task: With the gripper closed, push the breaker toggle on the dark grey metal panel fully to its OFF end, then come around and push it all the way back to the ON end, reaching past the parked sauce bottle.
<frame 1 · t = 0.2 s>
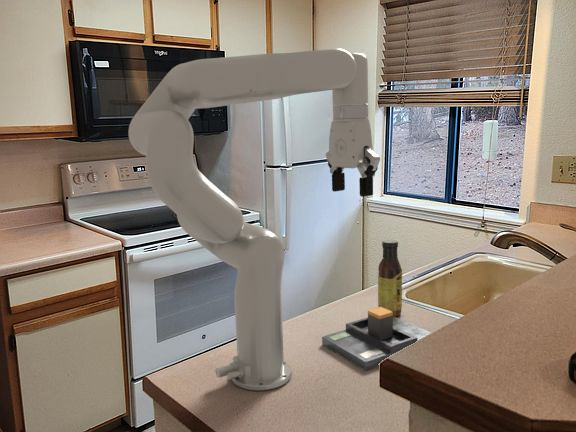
hand: (352, 193, 116), 36 cm above the worktop, tool pointing down, fingers open, 9 cm apart
toggle: (380, 323, 122), point 5 cm above the worktop, slide at 0.0 cm
sauce bottle: (389, 314, 142), on the worktop
panel: (380, 344, 123), on the worktop
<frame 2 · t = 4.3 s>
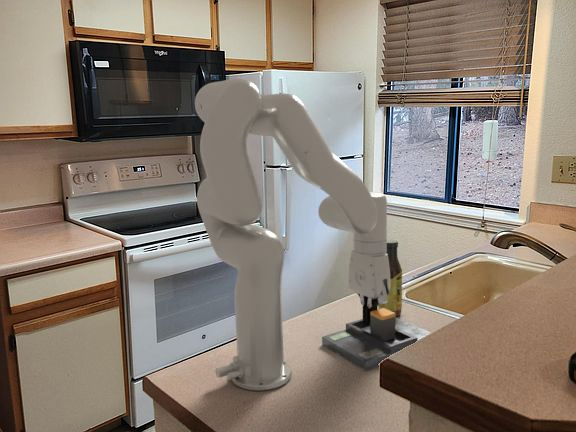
hand: (370, 321, 125), 5 cm above the worktop, tool pointing down, fingers closed
toggle: (382, 324, 121), point 5 cm above the worktop, slide at -0.9 cm, touching gripper
everything else where it was.
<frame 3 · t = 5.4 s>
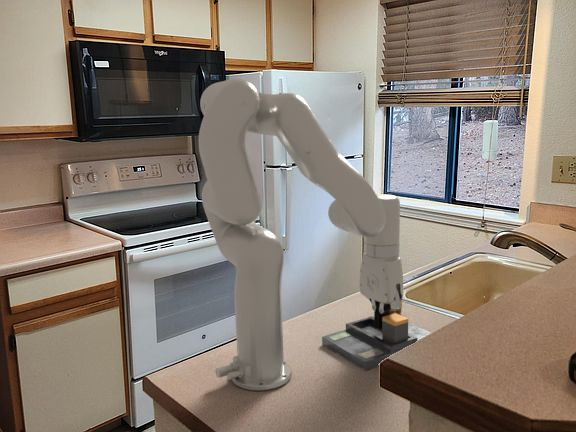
hand: (381, 326, 122), 5 cm above the worktop, tool pointing down, fingers closed
toggle: (395, 330, 118), point 5 cm above the worktop, slide at -4.9 cm, touching gripper, panel
everything else where it was.
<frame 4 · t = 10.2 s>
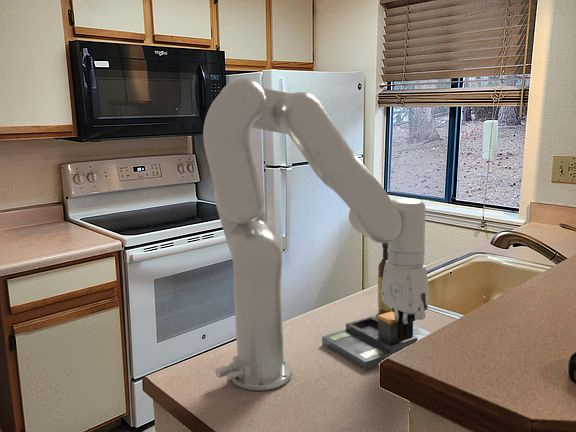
hand: (404, 338, 115), 5 cm above the worktop, tool pointing down, fingers closed
toggle: (390, 328, 119), point 5 cm above the worktop, slide at -3.5 cm, touching gripper
everything else where it was.
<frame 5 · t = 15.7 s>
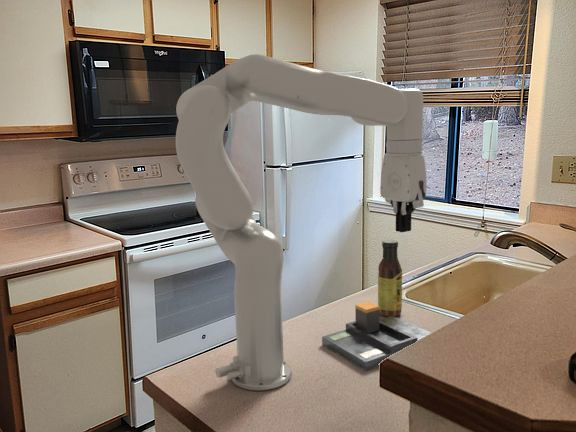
hand: (403, 230, 117), 27 cm above the worktop, tool pointing down, fingers closed
toggle: (367, 317, 126), point 5 cm above the worktop, slide at 4.5 cm
everything else where it was.
at the end: toggle slide at 4.5 cm; sauce bottle moved 0.2 cm from its start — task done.
